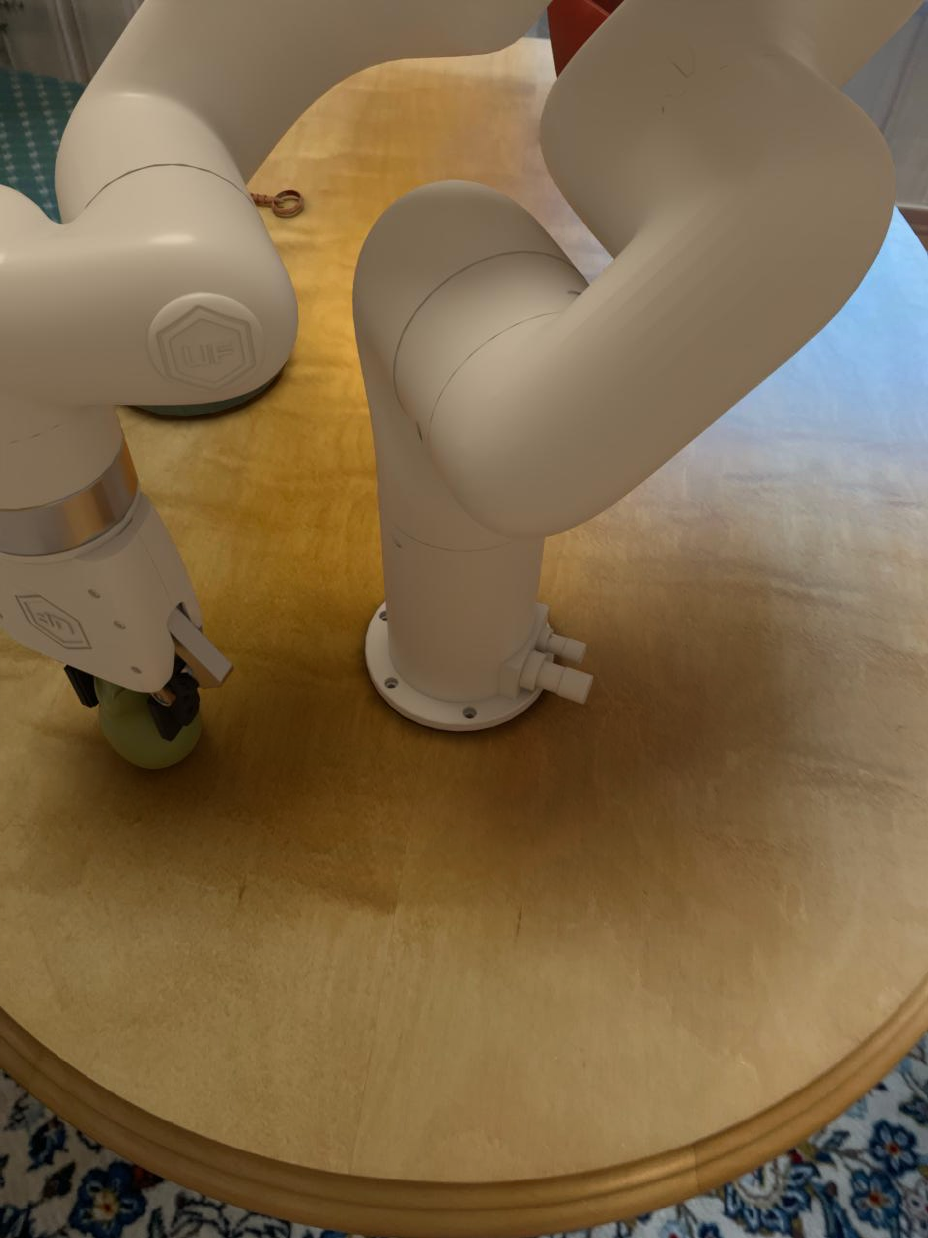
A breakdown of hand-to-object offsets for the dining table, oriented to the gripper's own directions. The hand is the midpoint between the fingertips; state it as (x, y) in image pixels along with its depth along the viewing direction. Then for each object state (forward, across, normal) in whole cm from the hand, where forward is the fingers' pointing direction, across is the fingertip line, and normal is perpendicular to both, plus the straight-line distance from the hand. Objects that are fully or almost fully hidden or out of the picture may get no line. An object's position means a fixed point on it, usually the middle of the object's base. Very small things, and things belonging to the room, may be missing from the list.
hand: (141, 702), depth 57 cm
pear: (+5, 0, 0) cm, 5 cm away
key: (+5, -30, +56) cm, 64 cm away
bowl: (+5, -19, +33) cm, 38 cm away
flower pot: (+5, +6, +84) cm, 85 cm away
